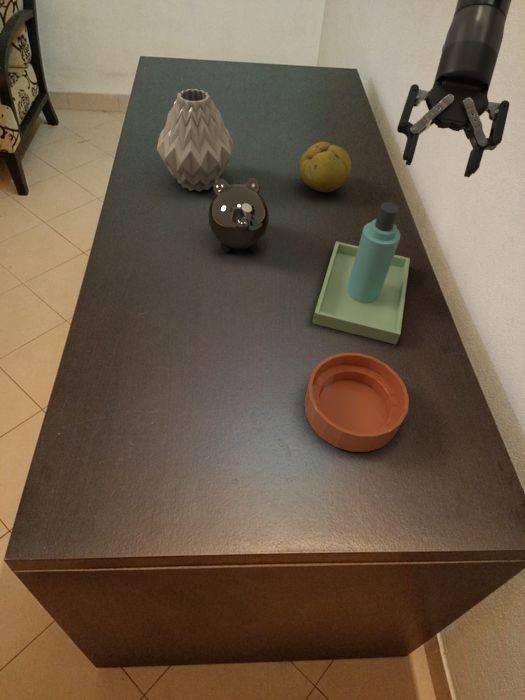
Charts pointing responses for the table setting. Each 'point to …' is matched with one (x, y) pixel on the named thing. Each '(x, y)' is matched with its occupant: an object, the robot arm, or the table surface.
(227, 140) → the vase
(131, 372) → the table surface
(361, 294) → the bottle
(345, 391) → the bowl
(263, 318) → the table surface
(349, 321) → the tray
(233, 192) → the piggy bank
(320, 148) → the fruit
